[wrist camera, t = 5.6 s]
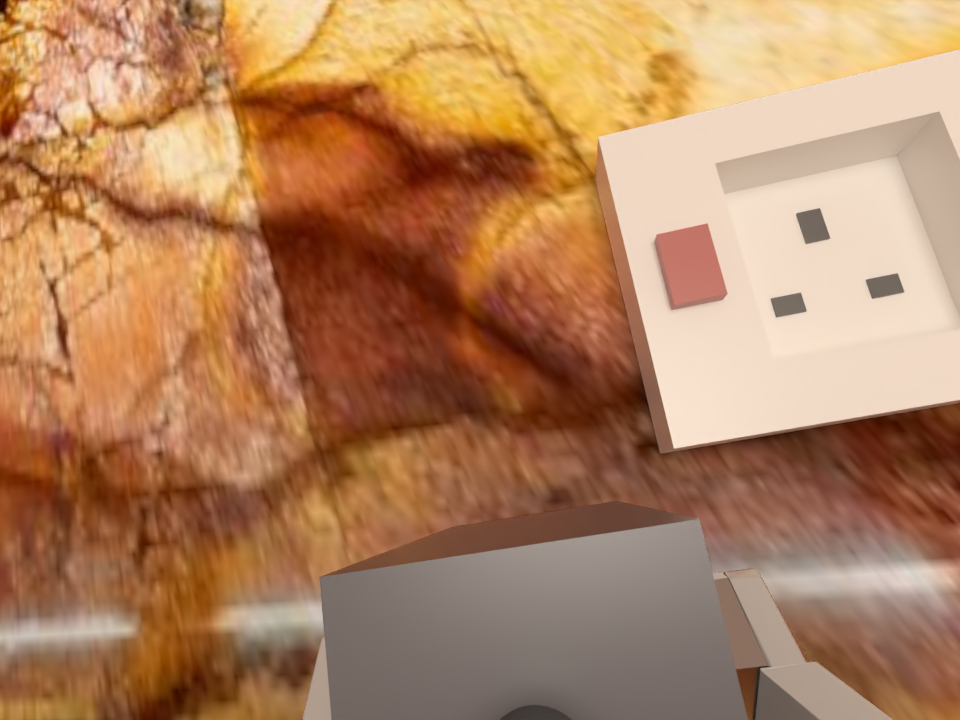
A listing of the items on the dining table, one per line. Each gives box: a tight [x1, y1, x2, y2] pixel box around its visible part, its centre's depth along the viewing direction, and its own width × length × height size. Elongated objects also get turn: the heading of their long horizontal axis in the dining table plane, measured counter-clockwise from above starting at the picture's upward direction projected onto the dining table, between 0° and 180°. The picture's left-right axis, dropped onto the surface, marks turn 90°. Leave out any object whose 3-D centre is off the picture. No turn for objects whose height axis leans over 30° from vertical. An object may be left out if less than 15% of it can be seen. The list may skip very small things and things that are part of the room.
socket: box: [596, 49, 960, 454], centre depth 19 cm, size 14×11×4 cm
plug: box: [320, 501, 748, 720], centre depth 9 cm, size 4×4×11 cm
